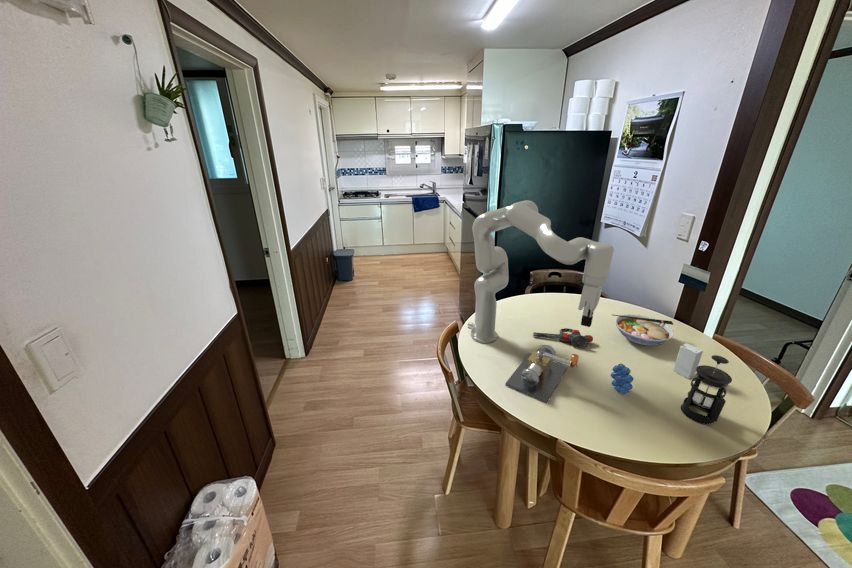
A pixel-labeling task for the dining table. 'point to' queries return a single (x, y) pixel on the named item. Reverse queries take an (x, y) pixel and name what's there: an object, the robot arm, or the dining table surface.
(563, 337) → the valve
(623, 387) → the grapes
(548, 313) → the dining table surface
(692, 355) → the skincare box
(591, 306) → the robot arm
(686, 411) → the french press
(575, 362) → the lever
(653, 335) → the ramen bowl
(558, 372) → the valve body
